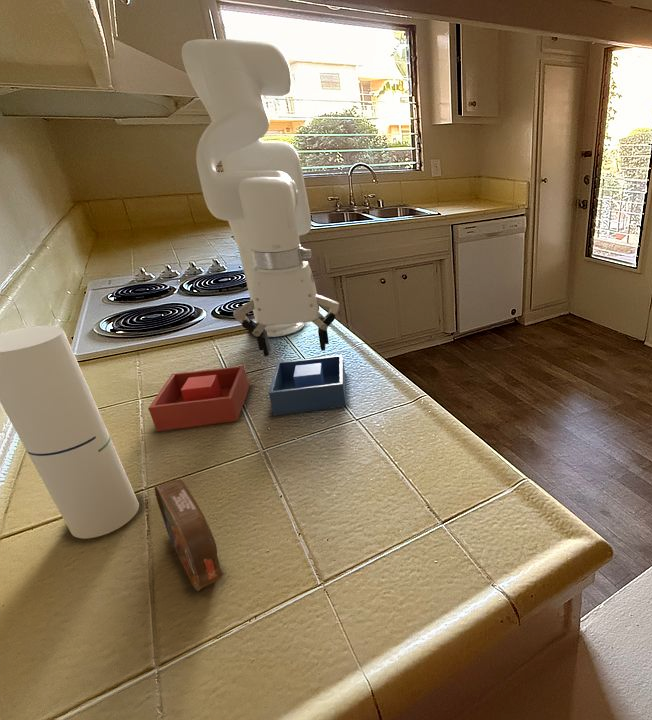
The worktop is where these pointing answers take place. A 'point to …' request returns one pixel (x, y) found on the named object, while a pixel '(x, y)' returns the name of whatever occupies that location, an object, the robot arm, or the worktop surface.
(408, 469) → the worktop surface
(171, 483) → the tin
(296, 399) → the blue bin
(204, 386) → the red block
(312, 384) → the blue block
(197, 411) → the red bin
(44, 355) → the cylindrical container
